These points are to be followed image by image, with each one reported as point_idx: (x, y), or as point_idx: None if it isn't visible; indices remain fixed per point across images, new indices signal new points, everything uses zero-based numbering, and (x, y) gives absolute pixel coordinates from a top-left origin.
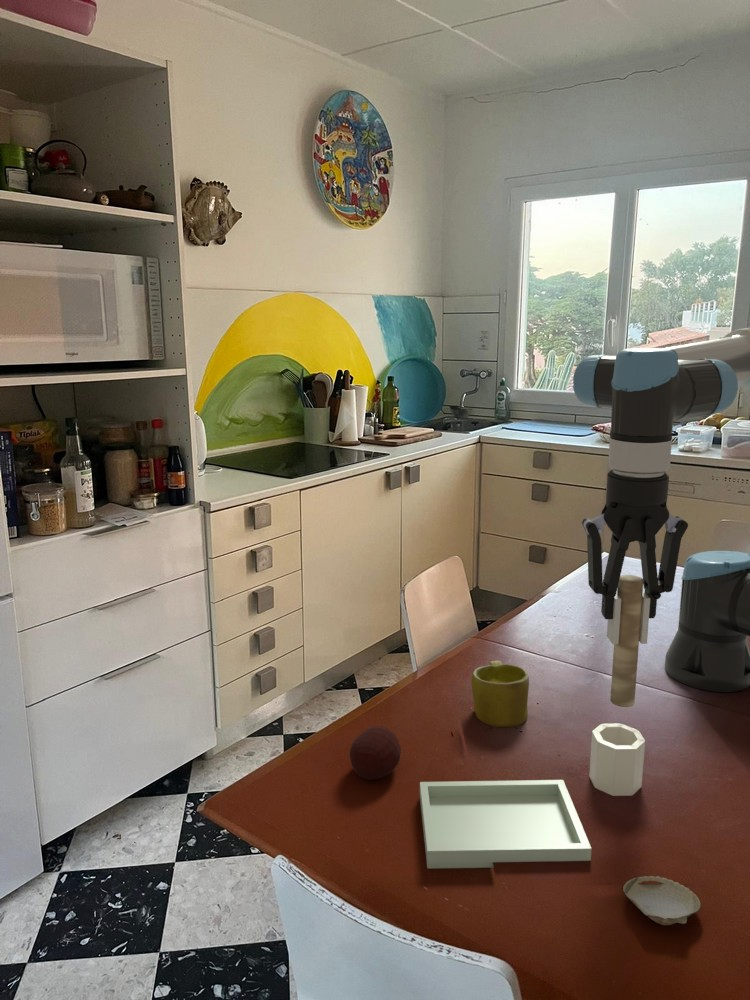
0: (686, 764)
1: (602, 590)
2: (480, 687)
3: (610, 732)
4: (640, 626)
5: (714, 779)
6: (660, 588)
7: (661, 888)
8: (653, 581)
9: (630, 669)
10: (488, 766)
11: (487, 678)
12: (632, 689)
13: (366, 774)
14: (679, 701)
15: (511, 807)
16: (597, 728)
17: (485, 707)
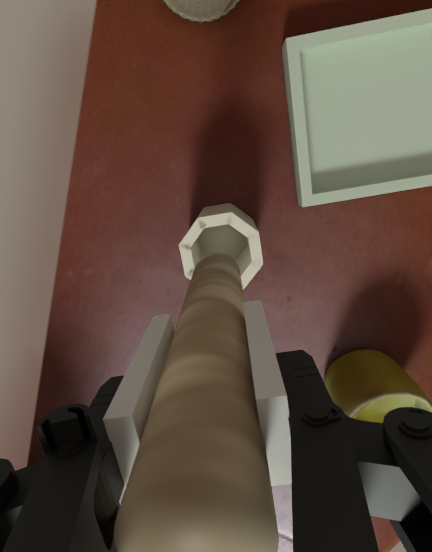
0: (120, 299)
1: (383, 425)
2: (424, 394)
3: None
4: (166, 355)
5: (89, 269)
6: (30, 485)
7: (194, 4)
8: (48, 511)
9: (204, 279)
10: (393, 259)
11: None
12: (199, 267)
13: None
14: None
15: (378, 153)
16: (252, 273)
17: (401, 369)
